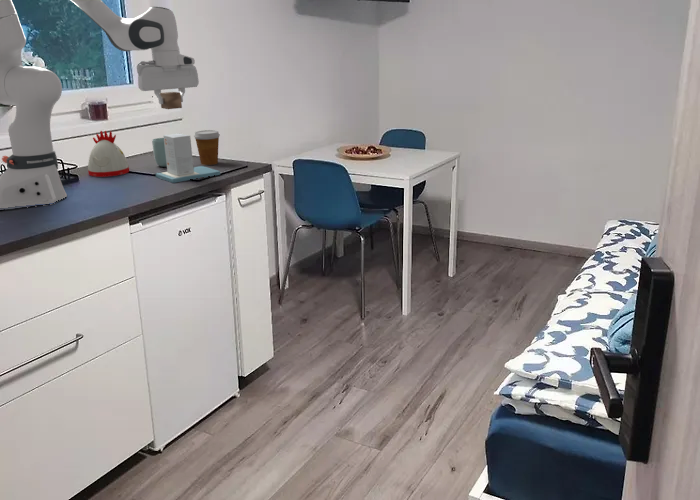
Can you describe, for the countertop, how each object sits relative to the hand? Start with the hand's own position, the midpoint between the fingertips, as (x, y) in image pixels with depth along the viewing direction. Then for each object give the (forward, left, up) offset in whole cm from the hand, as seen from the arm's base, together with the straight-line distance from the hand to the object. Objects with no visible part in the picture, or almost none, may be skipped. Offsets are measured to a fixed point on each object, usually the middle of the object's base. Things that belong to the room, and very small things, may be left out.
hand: (171, 103), depth 213 cm
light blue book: (+3, -1, -25) cm, 25 cm away
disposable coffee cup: (+19, +13, -25) cm, 34 cm away
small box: (0, -1, -24) cm, 24 cm away
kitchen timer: (-15, +25, -25) cm, 39 cm away
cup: (+5, +21, -25) cm, 33 cm away
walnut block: (0, 0, -2) cm, 2 cm away
